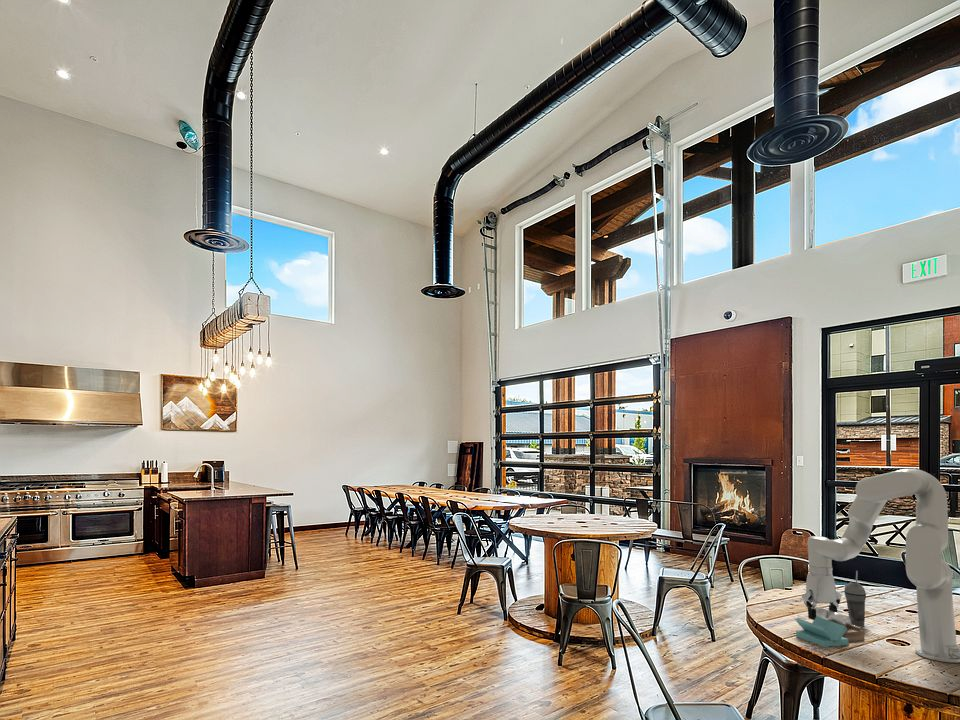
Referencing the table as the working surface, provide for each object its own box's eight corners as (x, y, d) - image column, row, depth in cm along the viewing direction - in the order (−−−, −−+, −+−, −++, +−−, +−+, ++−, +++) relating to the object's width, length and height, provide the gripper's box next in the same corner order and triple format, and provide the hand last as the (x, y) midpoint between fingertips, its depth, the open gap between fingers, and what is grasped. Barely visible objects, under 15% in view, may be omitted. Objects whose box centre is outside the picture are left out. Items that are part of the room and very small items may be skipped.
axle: (850, 629, 212) (851, 617, 213) (840, 627, 211) (842, 614, 212) (821, 620, 223) (823, 608, 224) (812, 618, 222) (814, 606, 223)
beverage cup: (847, 620, 232) (844, 567, 235) (869, 624, 227) (865, 570, 230) (844, 625, 226) (840, 570, 229) (867, 628, 222) (863, 573, 225)
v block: (848, 645, 203) (847, 625, 204) (824, 647, 201) (822, 628, 201) (819, 634, 215) (818, 616, 216) (796, 636, 212) (795, 618, 213)
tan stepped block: (864, 640, 209) (863, 627, 210) (844, 642, 207) (843, 629, 207) (840, 631, 219) (839, 619, 219) (820, 633, 216) (819, 621, 217)
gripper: (830, 567, 229) (833, 614, 226) (793, 569, 224) (796, 617, 222) (847, 572, 222) (850, 620, 219) (809, 574, 217) (812, 623, 215)
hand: (823, 618), depth 221 cm, fingers open, 9 cm apart
